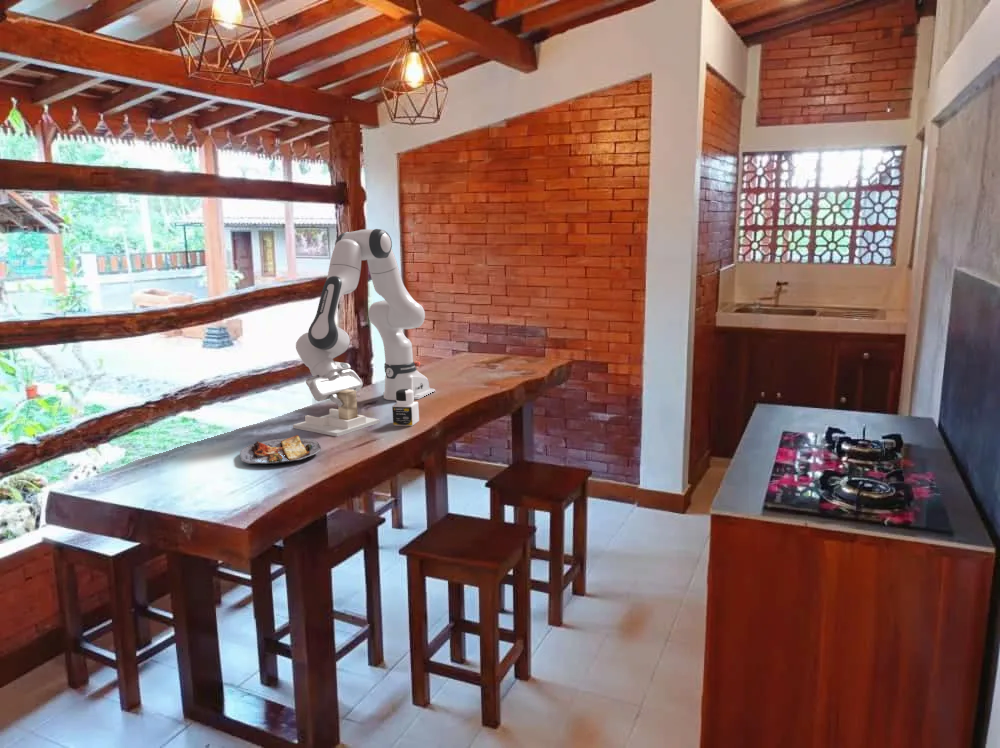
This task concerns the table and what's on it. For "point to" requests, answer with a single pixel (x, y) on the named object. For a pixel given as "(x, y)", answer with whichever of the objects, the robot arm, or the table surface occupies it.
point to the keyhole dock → (334, 424)
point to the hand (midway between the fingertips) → (348, 403)
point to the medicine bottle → (405, 409)
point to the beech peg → (348, 404)
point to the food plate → (280, 450)
